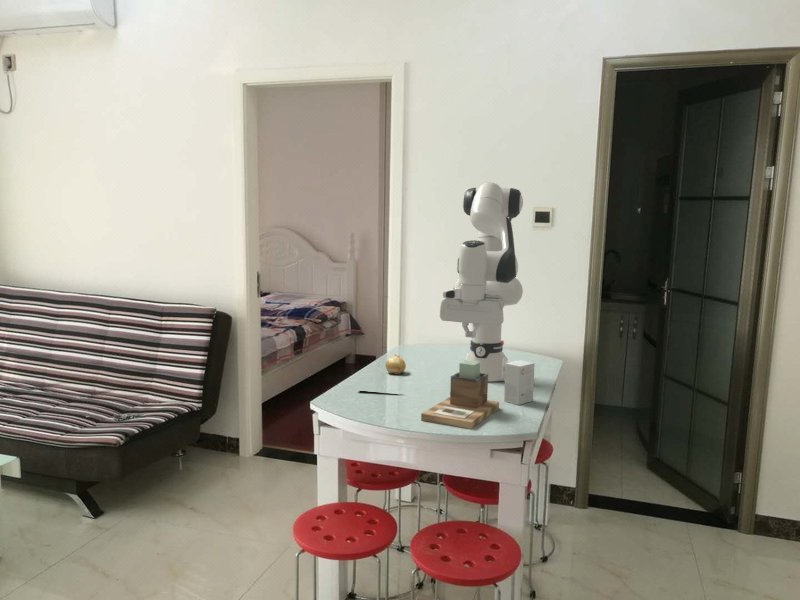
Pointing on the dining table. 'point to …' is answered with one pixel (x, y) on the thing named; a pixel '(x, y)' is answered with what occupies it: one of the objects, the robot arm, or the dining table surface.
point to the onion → (395, 364)
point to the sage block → (469, 369)
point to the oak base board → (460, 421)
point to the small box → (519, 382)
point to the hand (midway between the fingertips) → (470, 337)
